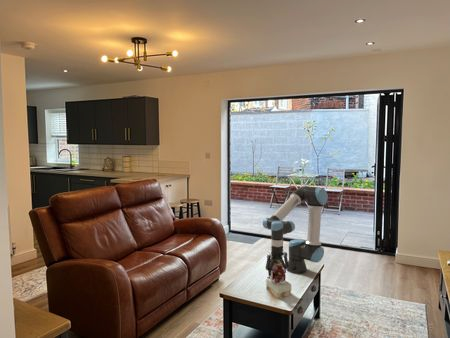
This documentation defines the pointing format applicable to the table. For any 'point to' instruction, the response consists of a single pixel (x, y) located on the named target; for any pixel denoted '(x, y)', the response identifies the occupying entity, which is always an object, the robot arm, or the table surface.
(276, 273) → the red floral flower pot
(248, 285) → the table surface
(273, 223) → the robot arm
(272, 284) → the cream flat block
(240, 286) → the table surface
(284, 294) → the block
